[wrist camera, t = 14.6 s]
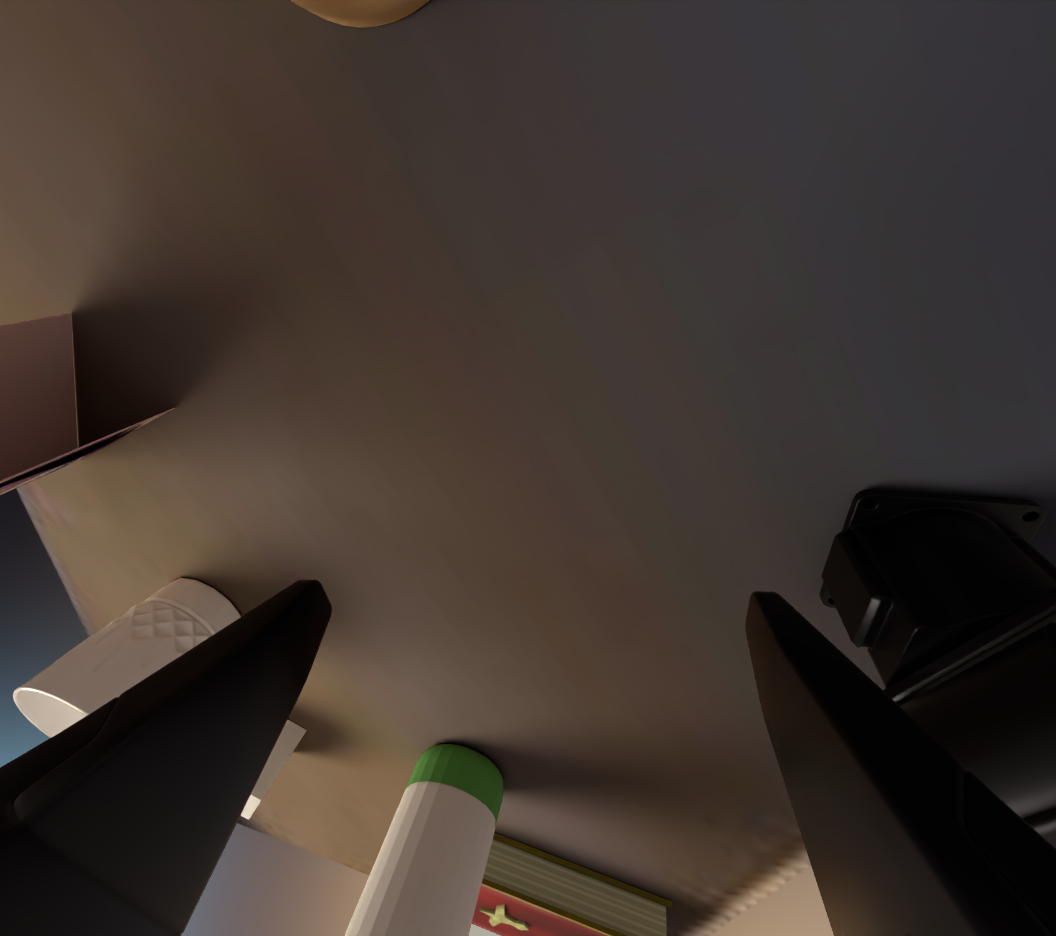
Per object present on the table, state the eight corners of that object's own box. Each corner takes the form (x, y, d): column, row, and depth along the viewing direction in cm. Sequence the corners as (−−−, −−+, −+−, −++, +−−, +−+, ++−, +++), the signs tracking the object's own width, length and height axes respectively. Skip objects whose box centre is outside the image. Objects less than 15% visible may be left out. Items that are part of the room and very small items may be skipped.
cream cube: (293, 752, 46) (248, 819, 41) (240, 723, 45) (188, 788, 40) (307, 730, 43) (260, 800, 38) (250, 698, 42) (196, 765, 37)
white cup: (150, 559, 35) (-11, 673, 26) (241, 587, 34) (104, 714, 25) (177, 627, 39) (45, 743, 30) (259, 653, 38) (146, 782, 29)
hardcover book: (629, 936, 49) (627, 993, 45) (448, 863, 51) (433, 913, 47) (671, 901, 43) (673, 964, 39) (462, 820, 44) (446, 873, 41)
